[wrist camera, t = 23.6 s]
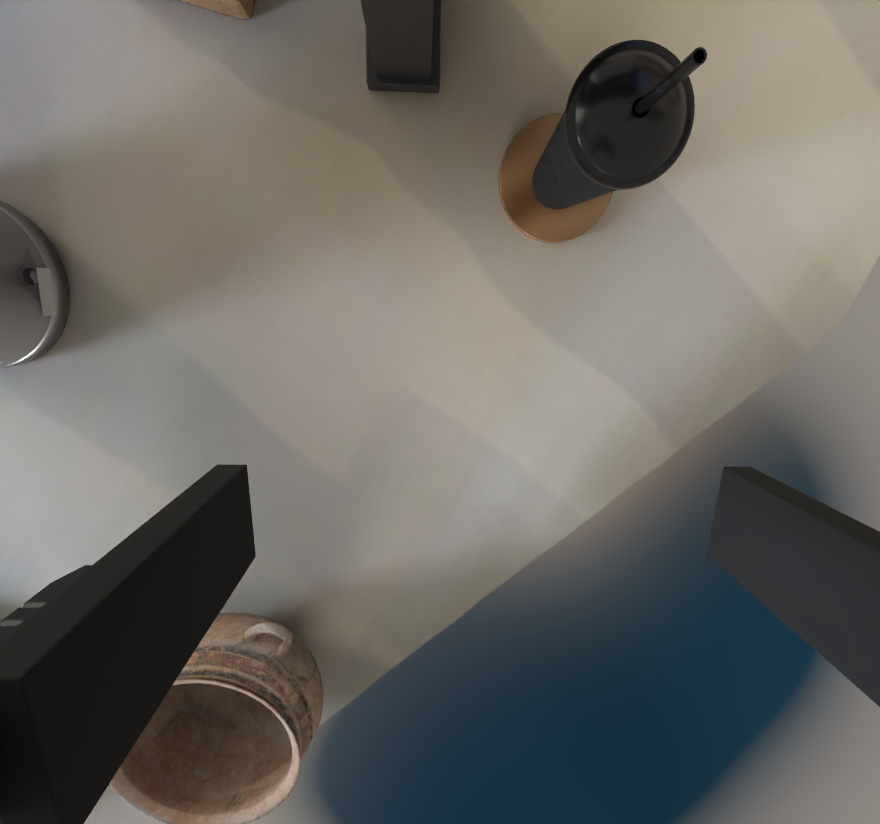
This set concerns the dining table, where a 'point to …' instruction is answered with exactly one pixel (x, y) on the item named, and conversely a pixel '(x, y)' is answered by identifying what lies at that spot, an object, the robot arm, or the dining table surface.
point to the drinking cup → (619, 124)
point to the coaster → (522, 198)
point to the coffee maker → (403, 44)
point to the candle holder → (227, 7)
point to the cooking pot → (227, 728)
